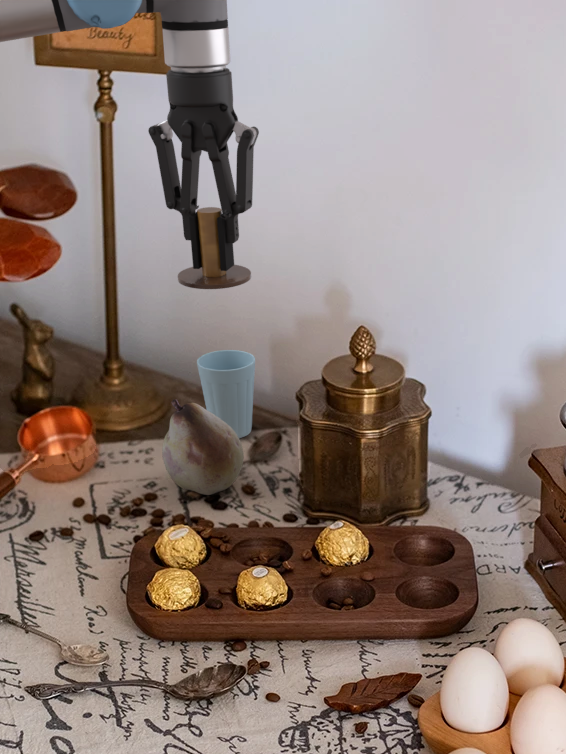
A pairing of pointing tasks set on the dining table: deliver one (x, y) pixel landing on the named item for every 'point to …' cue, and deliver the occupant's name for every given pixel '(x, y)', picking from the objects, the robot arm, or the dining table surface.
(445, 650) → the dining table surface
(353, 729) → the dining table surface
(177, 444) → the fruit
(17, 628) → the dining table surface
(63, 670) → the dining table surface
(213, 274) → the lid
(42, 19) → the robot arm
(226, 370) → the cup
